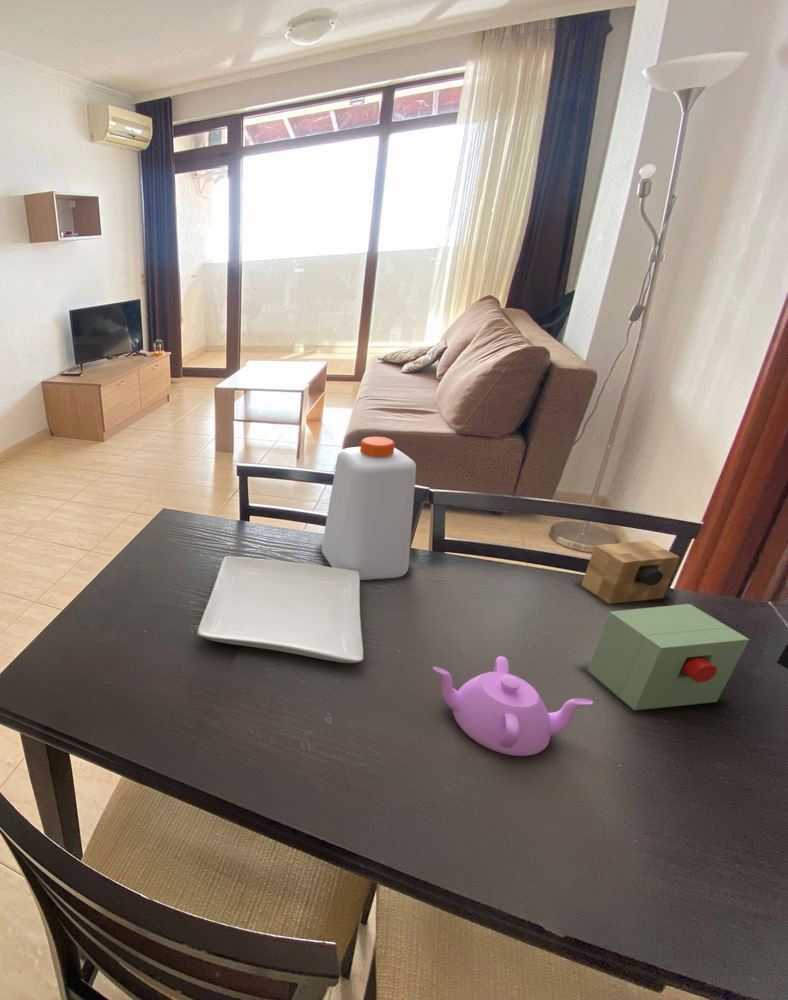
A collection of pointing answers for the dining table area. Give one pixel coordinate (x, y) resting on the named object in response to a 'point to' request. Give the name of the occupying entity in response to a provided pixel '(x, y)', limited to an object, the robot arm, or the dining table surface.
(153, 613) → the dining table surface
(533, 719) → the teapot
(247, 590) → the square plate
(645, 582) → the black button
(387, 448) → the plastic bottle
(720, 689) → the green box
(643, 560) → the wooden button box
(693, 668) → the red button
